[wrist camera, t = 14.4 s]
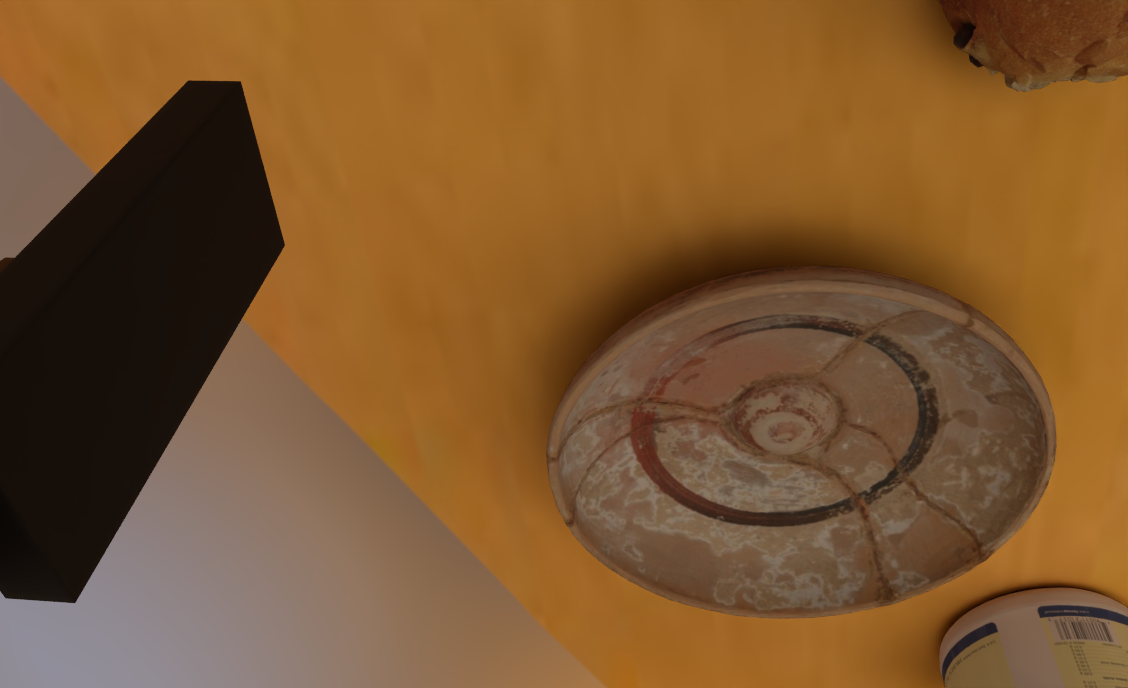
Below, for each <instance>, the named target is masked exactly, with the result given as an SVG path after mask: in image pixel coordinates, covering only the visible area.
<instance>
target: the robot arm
mask: <svg viewBox="0 0 1128 688" xmlns="http://www.w3.org/2000/svg"><path fill="white" fill-rule="evenodd" d="M284 246H285V244H284V240H283V236H282V233H281V229H280V225H279V221H278V218H277V214H276V210H275V207H274V203H273V199H272V196H271V192H270V188H269V185H268V181H267V177H266V173H265V170H264V166H263V162H262V159H261V155H260V151H259V148H258V144H257V140H256V136H255V133H254V129H253V125H252V122H251V118H250V114H249V111H248V107H247V103H246V99H245V96H244V92H243V88H242V85H241V81H187V82H186V84H185V85H184V86H183V87H182V88H181V89H180V90H179V91H178V92H177V93H176V94H175V95H174V96H173V97H172V98H171V99H170V100H169V101H168V102H167V103H166V104H165V105H164V106H163V107H162V108H161V109H160V110H159V111H158V112H157V113H156V114H155V115H154V116H153V117H152V118H151V119H150V120H149V121H148V122H147V123H146V124H145V125H144V126H143V127H142V128H141V130H140V131H139V132H138V133H137V134H136V135H135V136H134V137H133V138H132V139H131V140H130V141H129V142H128V143H127V144H126V145H125V146H124V147H123V148H122V149H121V150H120V151H119V152H118V153H117V154H116V155H115V156H114V157H113V158H112V159H111V160H110V161H109V162H108V163H107V164H106V165H105V166H104V167H103V168H102V169H101V170H100V171H99V172H98V173H97V174H96V176H95V177H94V178H93V179H92V180H91V181H90V182H89V183H88V184H87V185H86V186H85V187H84V188H83V189H82V190H81V191H80V192H79V193H78V194H77V195H76V196H75V197H74V198H73V199H72V200H71V201H70V202H69V203H68V204H67V205H66V206H65V207H64V208H63V209H62V210H61V211H60V212H59V213H58V214H57V215H56V217H54V218H53V220H51V222H50V223H49V224H48V225H47V226H46V227H45V228H44V229H43V230H42V231H41V232H40V233H39V234H38V235H37V236H36V237H35V238H34V239H33V240H32V241H31V242H30V243H29V244H28V245H27V246H26V247H25V248H24V249H23V250H22V251H21V252H20V253H19V254H18V255H17V256H16V257H15V258H4V259H3V260H1V261H0V591H1V593H2V594H3V595H4V597H5V598H9V599H10V598H11V599H24V600H25V599H26V600H39V601H53V602H68V603H75V602H76V601H77V599H78V597H79V596H80V594H81V592H82V590H83V588H84V587H85V585H86V583H87V582H88V580H89V578H90V577H91V575H92V573H93V572H94V570H95V568H96V566H97V565H98V563H99V561H100V560H101V558H102V556H103V555H104V553H105V551H106V549H107V548H108V546H109V544H110V543H111V541H112V539H113V538H114V536H115V534H116V532H117V531H118V529H119V527H120V526H121V524H122V522H123V520H124V519H125V517H126V515H127V514H128V512H129V510H130V509H131V507H132V505H133V503H134V502H135V500H136V498H137V497H138V495H139V493H140V491H141V490H142V488H143V486H144V485H145V483H146V481H147V479H148V478H149V476H150V474H151V473H152V471H153V469H154V468H155V466H156V464H157V462H158V461H159V459H160V457H161V456H162V454H163V452H164V451H165V449H166V447H167V445H168V444H169V442H170V440H171V439H172V437H173V435H174V434H175V432H176V430H177V428H178V427H179V425H180V423H181V422H182V420H183V418H184V416H185V415H186V413H187V411H188V410H189V408H190V406H191V404H192V403H193V401H194V399H195V398H196V396H197V394H198V392H199V391H200V389H201V388H202V386H203V384H204V382H205V381H206V379H207V377H208V375H209V374H210V372H211V370H212V369H213V367H214V365H215V364H216V362H217V360H218V359H219V357H220V355H221V353H222V351H223V350H224V348H225V347H226V345H227V343H228V341H229V340H230V338H231V336H232V335H233V333H234V331H235V330H236V328H237V326H238V324H239V323H240V321H241V319H242V318H243V316H244V314H245V313H246V311H247V309H248V307H249V306H250V304H251V302H252V301H253V299H254V297H255V295H256V294H257V292H258V290H259V289H260V287H261V285H262V284H263V282H264V280H265V278H266V277H267V275H268V273H269V272H270V270H271V268H272V266H273V265H274V263H275V261H276V260H277V258H278V256H279V255H280V253H281V251H282V249H283V248H284Z"/></svg>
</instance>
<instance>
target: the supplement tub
mask: <svg viewBox="0 0 1128 688" xmlns="http://www.w3.org/2000/svg"><path fill="white" fill-rule="evenodd" d="M939 660H940V672H941V675H942V677H943V680H944V684H945V688H1128V608H1127V607H1126V606H1124V605H1123V604H1121V603H1119V602H1117V601H1115V600H1113V599H1111V598H1109V597H1107V596H1104V595H1101V594H1098V593H1095V592H1091V591H1087V590H1082V589H1075V588H1041V589H1032V590H1026V591H1021V592H1016V593H1012V594H1008V595H1005V596H1001V597H998V598H995V599H993V600H990V601H988V602H985V603H983V604H981V605H979V606H977V607H975V608H974V609H972V610H970V611H969V612H967V613H966V614H965V615H963V616H962V617H961V618H960V619H958V620H957V621H956V622H955V623H954V624H953V625H952V627H951V628H950V629H949V630H948V631H947V633H946V635H945V636H944V638H943V641H942V643H941V646H940V653H939Z"/></svg>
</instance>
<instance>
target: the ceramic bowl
mask: <svg viewBox="0 0 1128 688" xmlns="http://www.w3.org/2000/svg"><path fill="white" fill-rule="evenodd" d="M1055 453H1056V426H1055V417H1054V412H1053V409H1052V405H1051V402H1050V398H1049V395H1048V392H1047V390H1046V387H1045V385H1044V383H1043V381H1042V379H1041V377H1040V375H1039V373H1038V372H1037V370H1036V369H1035V367H1034V366H1033V364H1032V363H1031V361H1030V360H1029V359H1028V357H1027V356H1026V355H1025V353H1024V352H1023V351H1022V350H1021V349H1020V347H1019V346H1018V345H1017V344H1016V343H1015V342H1014V340H1013V339H1012V338H1011V337H1010V336H1009V335H1007V334H1006V333H1005V332H1004V331H1003V330H1002V329H1001V328H1000V327H999V326H997V325H996V324H995V323H994V322H993V321H991V320H990V319H989V318H988V317H986V316H985V315H983V314H982V313H980V312H979V311H978V310H976V309H975V308H973V307H972V306H971V305H969V304H966V303H964V302H962V301H960V300H958V299H956V298H954V297H952V296H950V295H947V294H945V293H943V292H941V291H939V290H937V289H934V288H931V287H928V286H925V285H923V284H920V283H917V282H914V281H911V280H908V279H905V278H901V277H897V276H893V275H889V274H885V273H880V272H875V271H869V270H863V269H856V268H847V267H836V266H790V267H775V268H768V269H760V270H754V271H747V272H743V273H738V274H733V275H729V276H725V277H721V278H717V279H714V280H711V281H709V282H706V283H703V284H700V285H697V286H694V287H691V288H689V289H686V290H684V291H681V292H679V293H677V294H675V295H673V296H671V297H669V298H667V299H665V300H663V301H661V302H659V303H657V304H655V305H653V306H651V307H649V308H648V309H646V310H645V311H643V312H642V313H640V314H638V315H637V316H636V317H634V318H633V319H632V320H630V321H629V322H628V323H626V324H625V325H624V326H622V327H621V328H620V329H619V330H618V331H616V332H615V333H614V334H613V335H611V336H610V337H609V338H608V339H607V340H606V341H605V342H604V343H603V344H601V345H600V346H599V347H598V348H597V349H596V350H595V351H594V352H593V354H592V355H591V356H590V357H589V358H588V359H587V360H586V361H585V362H584V364H583V365H582V367H581V368H580V369H579V371H578V372H577V373H576V375H575V376H574V378H573V379H572V381H571V382H570V384H569V385H568V387H567V389H566V391H565V393H564V394H563V396H562V398H561V400H560V403H559V405H558V408H557V410H556V413H555V415H554V418H553V421H552V424H551V427H550V429H549V436H548V443H547V452H546V455H547V466H548V473H549V481H550V484H551V488H552V492H553V495H554V498H555V501H556V504H557V507H558V509H559V512H560V513H561V515H562V517H563V519H564V521H565V523H566V525H567V526H568V527H569V528H570V530H571V532H572V534H573V535H574V536H575V537H576V538H577V540H578V541H579V542H580V543H581V544H582V545H583V546H584V547H585V548H586V549H587V550H588V551H589V552H590V553H591V554H592V555H593V556H594V557H595V558H596V559H598V560H599V561H600V562H601V563H603V564H604V565H605V566H607V567H608V568H609V569H611V570H612V571H614V572H616V573H617V574H619V575H620V576H622V577H624V578H625V579H627V580H629V581H630V582H632V583H634V584H636V585H638V586H640V587H642V588H644V589H646V590H648V591H650V592H652V593H655V594H657V595H659V596H662V597H664V598H667V599H669V600H672V601H676V602H679V603H682V604H685V605H689V606H693V607H697V608H701V609H706V610H711V611H716V612H720V613H725V614H730V615H736V616H746V617H759V618H813V617H824V616H834V615H840V614H846V613H853V612H857V611H862V610H867V609H872V608H877V607H882V606H887V605H891V604H895V603H898V602H901V601H903V600H906V599H908V598H911V597H914V596H917V595H920V594H923V593H925V592H928V591H930V590H932V589H934V588H936V587H938V586H940V585H942V584H945V583H947V582H949V581H951V580H953V579H955V578H957V577H959V576H961V575H962V574H964V573H966V572H968V571H970V570H971V569H973V568H974V567H976V566H977V565H979V564H980V563H982V562H984V561H985V560H987V559H988V558H989V557H990V556H991V555H992V554H993V553H994V552H995V551H996V550H998V549H999V548H1000V547H1001V546H1002V545H1003V544H1004V543H1006V542H1007V541H1008V540H1009V539H1010V538H1011V537H1012V536H1013V535H1014V534H1015V533H1016V532H1017V531H1018V530H1019V529H1020V528H1021V527H1022V526H1023V525H1024V523H1025V522H1026V521H1027V519H1028V518H1029V517H1030V515H1031V514H1032V512H1033V511H1034V509H1035V508H1036V506H1037V504H1038V503H1039V501H1040V499H1041V497H1042V495H1043V493H1044V491H1045V489H1046V487H1047V485H1048V482H1049V479H1050V475H1051V472H1052V468H1053V465H1054V461H1055Z"/></svg>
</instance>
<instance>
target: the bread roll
mask: <svg viewBox="0 0 1128 688" xmlns="http://www.w3.org/2000/svg"><path fill="white" fill-rule="evenodd" d="M939 1H940V3H941V5H942V8H943V10H944V13H945V15H946V17H947V20H948V22H949V23H950V25H951V26H952V28H953V30H954V31H955V33H956V34H955V36H954V44H955V45H956V46H957V47H958V48H959V49H960V50H961V51H964V52H966V53H968V54H969V58H970V62H971V63H972V64H974V65H975V66H977V67H981V66H985V67H986V69H987V70H988V71H989V72H990V73H991V75H994V74H996V73H997V72H999V71H1000V72H1002V73H1003V74H1005V83H1006V85H1007V87H1009V88H1013V89H1014V90H1016V91H1023V92H1026V91H1029V90H1033V89H1041V88H1043V87H1045V86H1047V85H1048V84H1049V83H1050V82H1056V81H1069V80H1071V81H1073V82H1077V81H1081V80H1084V79H1086V80H1088V81H1090V82H1097V83H1101V82H1109V81H1113V80H1116V78H1117V77H1120V76H1125V75H1128V0H939Z"/></svg>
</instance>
